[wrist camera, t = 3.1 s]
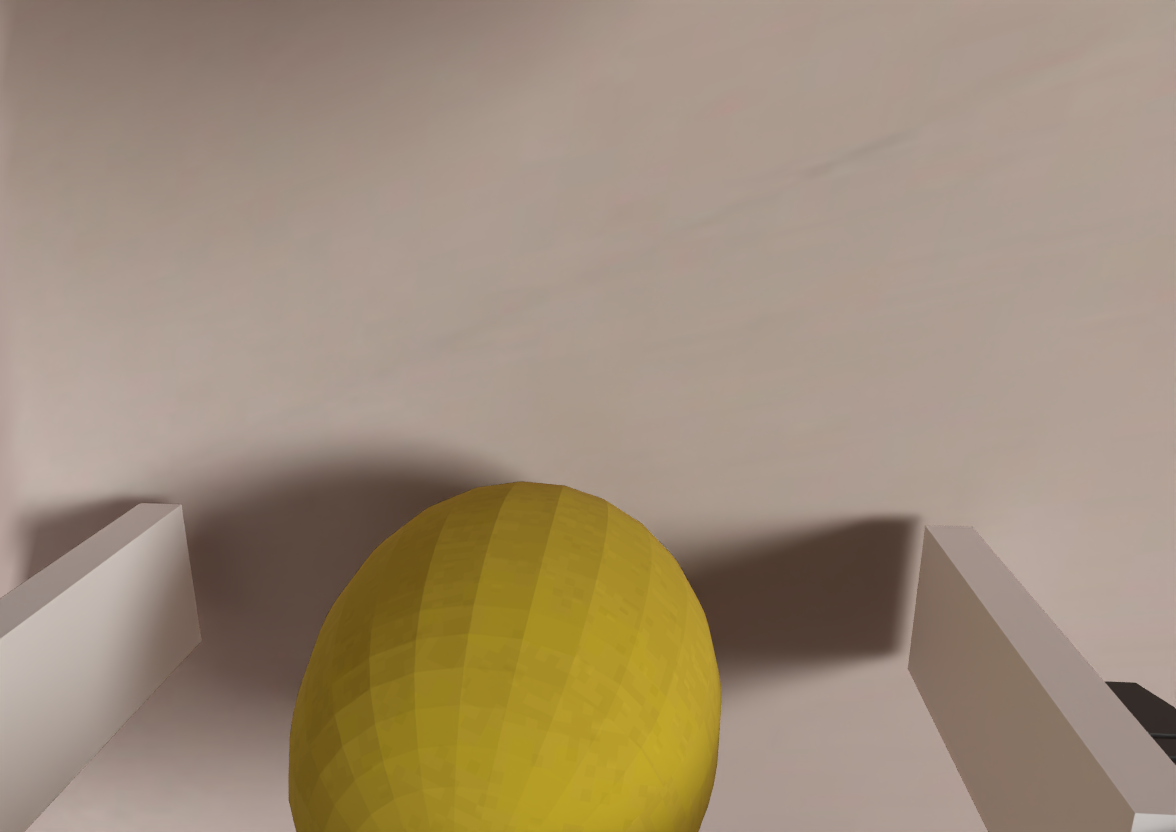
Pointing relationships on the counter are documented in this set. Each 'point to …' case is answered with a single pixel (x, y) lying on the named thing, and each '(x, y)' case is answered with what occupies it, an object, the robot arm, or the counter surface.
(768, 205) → the counter surface
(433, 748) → the lemon
